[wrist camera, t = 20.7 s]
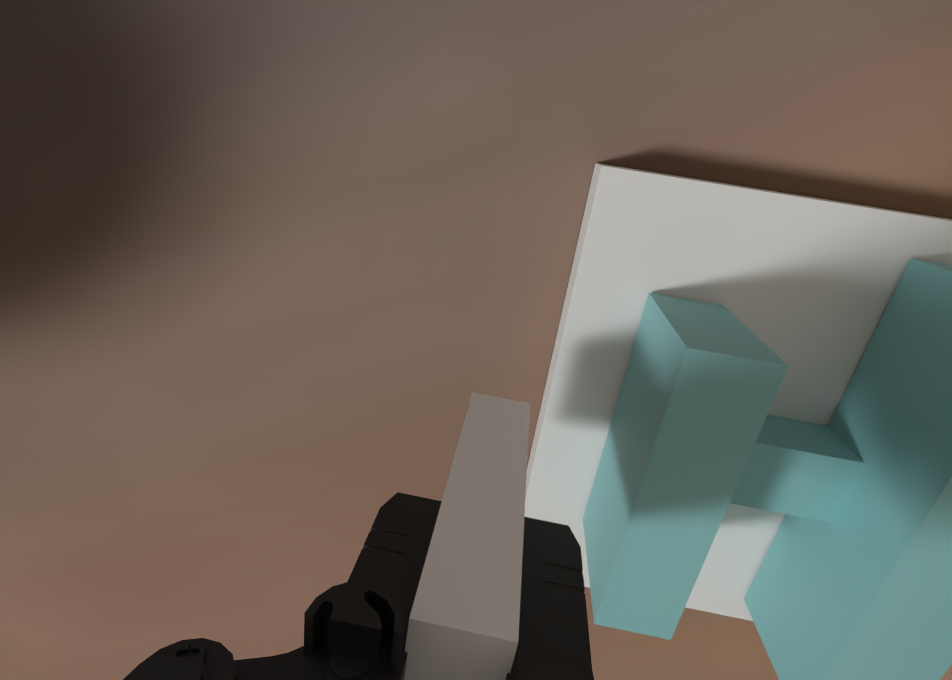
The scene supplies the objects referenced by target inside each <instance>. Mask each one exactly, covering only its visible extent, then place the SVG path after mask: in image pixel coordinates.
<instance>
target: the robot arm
mask: <svg viewBox="0 0 952 680" xmlns="http://www.w3.org/2000/svg"><path fill="white" fill-rule="evenodd" d="M529 413H530V403H525V402H520V401H514V400H509V399H504V398H499V397H493V396H488V395H483V394H478V393H472V395H471V399H470V402H469V406H468V409H467V413H466V417H465V420H464V424H463V427H462V431H461V434H460V438H459V442H458V445H457V449H456V452H455V456H454V460H453V463H452V467H451V470H450V474H449V477H448V481H447V485H446V488H445V492H444V495H443V499H442V501H437V500H432V499H427V498H423V497H418V496H413V495H408V494H403V493H397V494H395V495H394V496H393V497H392V498H391V499H390V500H389V501H387V502H386V503H385V504H384V505H383V506H382V507H380V510H379V512H378V514H377V516H376V519H375V521H374V523H373V525H372V528H371V532H369V535H368V537H367V539H366V541H365V544H364V547H363V549H362V550H361V553H360V555H359V557H358V560H357V562H356V564H355V566H354V569H353V571H352V573H351V575H350V578H349V580H348V582H347V583H343V584H340V585H336V586H333V587H331V588H330V589H328V590H327V591H325V592H324V593H322V594H321V595H319V596H318V597H316V599H315V600H314V601H313V603H312V604H311V605H310V607H309V608H308V609H307V611H306V612H305V623H304V646H303V647H300V648H298V649H296V650H294V651H291V652H289V653H285V654H280V655H276V656H270V657H261V658H252V659H243V660H234V659H233V655H232V653H231V652H230V651H228V650H227V649H226V648H225V647H224V646H223V645H222V644H221V643H219V642H216V641H212V640H208V639H205V638H199V639H189V640H181V641H179V642H176V643H174V644H172V645H169V646H167V647H164V648H162V649H160V650H158V651H157V652H155V653H154V654H153V655H151V656H150V657H149V658H147V659H146V660H145V661H143V662H142V663H140V664H139V665H138V666H137V667H136V668H135V669H134V670H133V671H132V672H131V673H130V674H128V675H127V676H126V677H125V678H124V679H123V680H594V677H593V672H592V664H591V653H590V642H589V631H588V621H587V610H586V599H585V594H584V590H585V588H584V577H583V574H582V572H583V567H582V556H581V547H580V545H579V543H578V541H577V540H576V538H575V536H574V534H573V532H572V531H571V529H570V527H569V526H568V525H563V524H558V523H553V522H548V521H544V520H539V519H534V518H529V517H524V515H525V495H526V474H527V454H528V434H529Z"/></svg>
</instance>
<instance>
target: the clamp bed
mask: <svg viewBox="0 0 952 680" xmlns="http://www.w3.org/2000/svg"><path fill="white" fill-rule="evenodd" d="M911 258H914V259H920V260H926V261H932V262H938V263H945V264H951V265H952V219H947V218H941V217H935V216H928V215H922V214H916V213H909V212H903V211H897V210H890V209H884V208H878V207H872V206H865V205H859V204H853V203H846V202H840V201H834V200H827V199H821V198H815V197H808V196H802V195H796V194H789V193H783V192H777V191H770V190H764V189H758V188H751V187H745V186H739V185H732V184H726V183H720V182H713V181H707V180H701V179H694V178H688V177H682V176H675V175H669V174H663V173H656V172H650V171H644V170H637V169H631V168H625V167H618V166H612V165H606V164H600V163H595V167H594V172H593V176H592V181H591V185H590V190H589V194H588V199H587V203H586V208H585V212H584V217H583V221H582V226H581V230H580V234H579V239H578V243H577V248H576V252H575V257H574V261H573V266H572V270H571V275H570V279H569V284H568V288H567V293H566V297H565V301H564V306H563V310H562V315H561V319H560V324H559V328H558V333H557V337H556V342H555V346H554V351H553V355H552V360H551V364H550V369H549V373H548V377H547V382H546V386H545V391H544V395H543V400H542V404H541V409H540V413H539V418H538V422H537V427H536V431H535V436H534V440H533V444H532V449H531V453H530V458H529V462H528V467H527V474H526V495H525V515H524V517H529V518H534V519H539V520H544V521H548V522H553V523H558V524H563V525H568V526H569V527H570V529H571V531H572V532H573V534H574V536H575V538H576V540H577V541H578V543H579V545H580V547H581V556H582V567H583V572H582V574H583V577H584V586H585V587H589V588H590V581H589V572H588V563H587V554H586V545H585V536H584V527H583V517H584V513H585V510H586V507H587V503H588V500H589V496H590V493H591V489H592V486H593V483H594V479H595V476H596V472H597V469H598V465H599V462H600V458H601V455H602V452H603V448H604V445H605V441H606V438H607V434H608V431H609V427H610V424H611V421H612V417H613V414H614V410H615V407H616V403H617V400H618V397H619V393H620V390H621V386H622V383H623V379H624V376H625V372H626V369H627V366H628V362H629V359H630V355H631V352H632V348H633V345H634V341H635V338H636V335H637V331H638V328H639V324H640V321H641V317H642V314H643V311H644V307H645V304H646V300H647V297H648V293H654V294H660V295H666V296H672V297H678V298H683V299H689V300H695V301H701V302H707V303H713V304H718V305H723V306H724V307H725V308H726V309H727V310H729V311H730V312H731V313H732V314H733V315H734V316H735V317H736V318H737V319H738V320H739V321H741V322H742V323H743V324H744V325H745V326H746V327H747V328H748V329H749V330H750V331H751V332H752V333H754V334H755V335H756V336H757V337H758V338H759V339H760V340H761V341H762V342H763V343H764V344H766V345H767V346H768V347H769V348H770V349H771V350H772V351H773V352H774V353H775V354H776V355H777V356H779V357H780V358H781V359H782V360H783V361H784V362H785V363H786V364H787V365H788V368H787V371H786V373H785V375H784V378H783V380H782V382H781V385H780V387H779V389H778V392H777V394H776V396H775V399H774V401H773V403H772V406H771V408H770V410H769V413H768V415H771V416H776V417H782V418H787V419H793V420H798V421H804V422H809V423H815V424H820V425H826V426H829V424H830V422H831V420H832V418H833V416H834V414H835V412H836V410H837V408H838V406H839V404H840V402H841V400H842V398H843V396H844V394H845V391H846V389H847V387H848V385H849V383H850V381H851V379H852V377H853V375H854V373H855V371H856V369H857V367H858V365H859V363H860V361H861V359H862V357H863V355H864V353H865V351H866V349H867V347H868V345H869V343H870V340H871V338H872V336H873V334H874V332H875V330H876V328H877V326H878V324H879V322H880V320H881V318H882V316H883V314H884V312H885V310H886V308H887V306H888V304H889V302H890V300H891V298H892V296H893V294H894V292H895V289H896V287H897V285H898V283H899V281H900V279H901V277H902V275H903V273H904V271H905V269H906V267H907V265H908V263H909V261H910V259H911ZM784 516H785V514H783V513H778V512H772V511H767V510H762V509H757V508H752V507H747V506H741V505H736V504H731V503H729V506H728V508H727V510H726V513H725V515H724V517H723V520H722V522H721V524H720V527H719V529H718V531H717V533H716V536H715V538H714V540H713V543H712V545H711V547H710V550H709V552H708V554H707V557H706V559H705V561H704V564H703V566H702V568H701V571H700V573H699V575H698V578H697V580H696V582H695V585H694V587H693V589H692V592H691V594H690V596H689V599H688V601H687V603H686V606H685V607H687V608H692V609H696V610H701V611H706V612H711V613H716V614H721V615H726V616H730V617H735V618H740V619H745V620H750V621H753V619H752V617H751V615H750V612H749V610H748V608H747V606H746V603H745V601H744V598H745V596H746V593H747V591H748V589H749V587H750V585H751V583H752V581H753V579H754V577H755V575H756V573H757V571H758V569H759V567H760V565H761V563H762V561H763V559H764V557H765V555H766V553H767V551H768V549H769V547H770V544H771V542H772V540H773V538H774V536H775V534H776V532H777V530H778V528H779V526H780V524H781V522H782V520H783V518H784Z"/></svg>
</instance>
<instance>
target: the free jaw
mask: <svg viewBox="0 0 952 680" xmlns="http://www.w3.org/2000/svg"><path fill="white" fill-rule="evenodd" d="M787 368H788V365H787V364H786V363H785V362H784V361H783V360H782V359H781V358H780V357H779V356H777V355H776V354H775V353H774V352H773V351H772V350H771V349H770V348H769V347H768V346H767V345H766V344H764V343H763V342H762V341H761V340H760V339H759V338H758V337H757V336H756V335H755V334H754V333H752V332H751V331H750V330H749V329H748V328H747V327H746V326H745V325H744V324H743V323H742V322H741V321H739V320H738V319H737V318H736V317H735V316H734V315H733V314H732V313H731V312H730V311H729V310H727V309H726V308H725V307H724V306H723V305H718V304H713V303H707V302H701V301H695V300H689V299H683V298H678V297H672V296H666V295H660V294H654V293H648V297H647V300H646V304H645V307H644V311H643V314H642V317H641V321H640V324H639V328H638V331H637V335H636V338H635V341H634V345H633V348H632V352H631V355H630V359H629V362H628V366H627V369H626V372H625V376H624V379H623V383H622V386H621V390H620V393H619V397H618V400H617V403H616V407H615V410H614V414H613V417H612V421H611V424H610V427H609V431H608V434H607V438H606V441H605V445H604V448H603V452H602V455H601V458H600V462H599V465H598V469H597V472H596V476H595V479H594V483H593V486H592V489H591V493H590V496H589V500H588V503H587V507H586V510H585V513H584V517H583V527H584V536H585V545H586V554H587V563H588V572H589V581H590V590H591V600H592V609H593V618H594V624H597V625H602V626H607V627H611V628H616V629H621V630H626V631H631V632H635V633H640V634H645V635H650V636H654V637H659V638H664V639H669V640H671V638H672V636H673V633H674V631H675V629H676V626H677V624H678V622H679V620H680V617H681V615H682V613H683V610H684V608H685V606H686V603H687V601H688V599H689V596H690V594H691V592H692V589H693V587H694V585H695V582H696V580H697V578H698V575H699V573H700V571H701V568H702V566H703V564H704V561H705V559H706V557H707V554H708V552H709V550H710V547H711V545H712V543H713V540H714V538H715V536H716V533H717V531H718V529H719V527H720V524H721V522H722V520H723V517H724V515H725V513H726V510H727V508H728V506H729V503H731V504H736V505H741V506H747V507H752V508H757V509H762V510H767V511H772V512H778V513H783V514H785V516H784V518H783V520H782V522H781V524H780V526H779V528H778V530H777V532H776V534H775V536H774V538H773V540H772V542H771V544H770V547H769V549H768V551H767V553H766V555H765V557H764V559H763V561H762V563H761V565H760V567H759V569H758V571H757V573H756V575H755V577H754V579H753V581H752V583H751V585H750V587H749V589H748V591H747V593H746V596H745V598H744V601H745V603H746V606H747V608H748V610H749V612H750V615H751V617H752V619H753V621H754V624H755V626H756V628H757V631H758V633H759V635H760V637H761V640H762V642H763V644H764V647H765V649H766V651H767V653H768V656H769V658H770V660H771V662H772V665H773V667H774V669H775V672H776V674H777V676H778V678H779V680H940V679H941V678H942V676H943V675H944V674H945V672H946V671H947V670H948V668H949V667H950V666H951V665H952V265H951V264H945V263H938V262H932V261H926V260H920V259H914V258H911V259H910V261H909V263H908V265H907V267H906V269H905V271H904V273H903V275H902V277H901V279H900V281H899V283H898V285H897V287H896V289H895V292H894V294H893V296H892V298H891V300H890V302H889V304H888V306H887V308H886V310H885V312H884V314H883V316H882V318H881V320H880V322H879V324H878V326H877V328H876V330H875V332H874V334H873V336H872V338H871V340H870V343H869V345H868V347H867V349H866V351H865V353H864V355H863V357H862V359H861V361H860V363H859V365H858V367H857V369H856V371H855V373H854V375H853V377H852V379H851V381H850V383H849V385H848V387H847V389H846V391H845V394H844V396H843V398H842V400H841V402H840V404H839V406H838V408H837V410H836V412H835V414H834V416H833V418H832V420H831V422H830V424H829V426H826V425H820V424H815V423H809V422H804V421H798V420H793V419H787V418H782V417H776V416H771V415H768V413H769V410H770V408H771V406H772V403H773V401H774V399H775V396H776V394H777V392H778V389H779V387H780V385H781V382H782V380H783V378H784V375H785V373H786V371H787Z"/></svg>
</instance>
